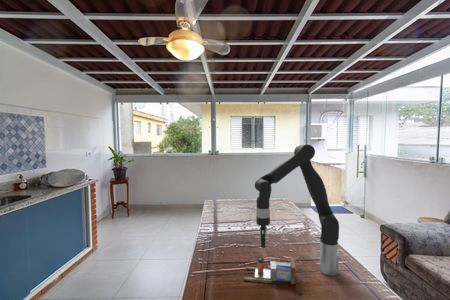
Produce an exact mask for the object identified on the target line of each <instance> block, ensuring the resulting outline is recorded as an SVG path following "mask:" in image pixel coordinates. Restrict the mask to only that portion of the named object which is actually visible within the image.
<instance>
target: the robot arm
mask: <svg viewBox="0 0 450 300" xmlns="http://www.w3.org/2000/svg"><path fill="white" fill-rule="evenodd" d="M293 154H294V155H293V156H292V157H290V158H289V159H287V160H286V161H284V162H282V163H281V164H279V165H277V166H276V167H274V168H273V169H272V170H271V171H269V172H268V173H267V174H264V175H262V176H261V177H259V178H258V179H257V180H256V181H255V183H254V188H255V190H256V191H258V196H257V198H256V210H255V211H256V212H255V213H256V214H255V218H256V219H255V220H256V221H255V222H256V225H258V226H259V237H260V247H261V248H262V249H265V248H266V240H267V238H266V237H267V231H268V227H267V226H269V225H270V224H271V211H270V200H271V195H272V184H278V183H279V182H281V181H282V180H283V179H284V178H285V177H287V175H289V174H290V173H291V172H292V171H294V170H295V169H297V168H298V167H299V168H300V171H301V173H302V176H303V179H304V183H305V185H306V187H307V190H308V194H309V196H310V197H311V199H312V201H313V203H314V205H315V208H316V212H317V215H318V220H319V223H320V225H321V226H320V227H321V228H320V237H319V238H320V239H319V242H320V243H319V271H320V272H321V273H322V274H324V275H327V276H336V275H337V276H338V275H339V267H340V266H339V265H340V264H339V259H340V258H339V256H338V253H339V252H338V243H339V237H340V222H339V220H338V219H337V217H336V216H335V214H334V212H333V211H332V208H331V206H330V203H329V198H328V193H327V189H326V186H325V183H324V180H323V179H322V177H321V175H320V174H319V173H318V172H317V171H316V169H315V168H314V166H313V163H312V161H311V160H312V159H313V158H314V157H315V155H316V150H315V148H314V146H313V145H312V144H306V143H305V144H300V145H297V146H296V147H295V148H294V150H293Z"/></svg>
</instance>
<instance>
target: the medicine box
mask: <svg viewBox="0 0 450 300" xmlns="http://www.w3.org/2000/svg"><path fill="white" fill-rule="evenodd" d="M278 281H279V282H287V283H288V282H289V283H291V263H290V262H287V261H286V262H285V261H276V282H278Z"/></svg>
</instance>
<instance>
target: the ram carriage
mask: <svg viewBox="0 0 450 300" xmlns="http://www.w3.org/2000/svg"><path fill="white" fill-rule="evenodd" d="M264 260H265V259H264V258H263V257H262V256H261V257H259V256H258V257H257V260H256V261H257V268H258V269H255V270H254V278H259V279H269V280H272V282H277V280H276V262H277V261H275V260H270V264H269V265H270V266H269V267H270V268H269V269H270V270H266V269H263V268H264Z"/></svg>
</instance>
